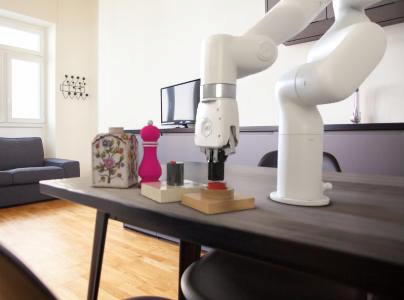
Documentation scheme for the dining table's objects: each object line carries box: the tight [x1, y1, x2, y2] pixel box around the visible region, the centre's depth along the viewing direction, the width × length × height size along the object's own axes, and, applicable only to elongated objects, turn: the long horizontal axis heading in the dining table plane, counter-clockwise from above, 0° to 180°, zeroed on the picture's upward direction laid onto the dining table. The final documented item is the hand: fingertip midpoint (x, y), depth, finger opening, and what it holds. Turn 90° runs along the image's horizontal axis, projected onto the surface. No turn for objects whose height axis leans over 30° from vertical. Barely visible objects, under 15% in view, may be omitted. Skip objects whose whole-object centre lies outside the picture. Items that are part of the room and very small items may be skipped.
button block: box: [181, 184, 255, 215], centre depth 64 cm, size 12×10×4 cm
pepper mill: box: [138, 119, 163, 188], centre depth 87 cm, size 7×7×20 cm
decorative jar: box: [90, 126, 140, 189], centre depth 91 cm, size 12×12×18 cm
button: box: [207, 180, 228, 190], centre depth 64 cm, size 4×4×2 cm
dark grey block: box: [166, 160, 185, 186], centre depth 74 cm, size 4×4×6 cm
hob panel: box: [140, 179, 207, 204], centre depth 74 cm, size 14×11×3 cm
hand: (215, 180), depth 64 cm, fingers closed
